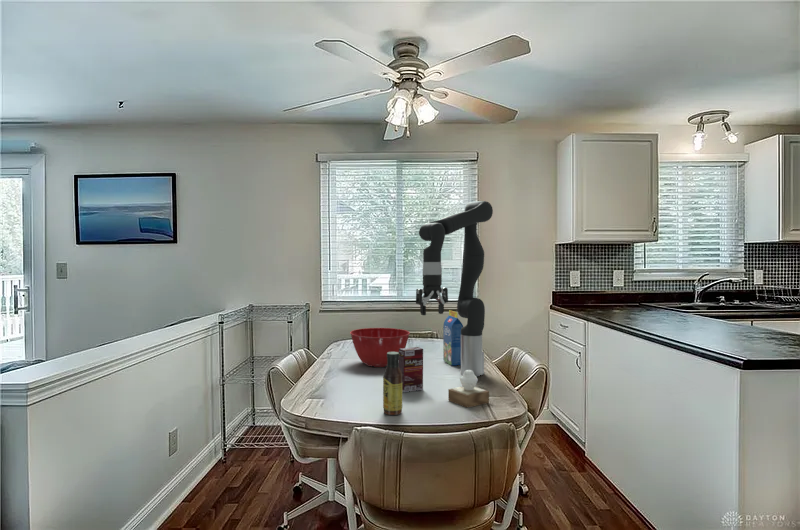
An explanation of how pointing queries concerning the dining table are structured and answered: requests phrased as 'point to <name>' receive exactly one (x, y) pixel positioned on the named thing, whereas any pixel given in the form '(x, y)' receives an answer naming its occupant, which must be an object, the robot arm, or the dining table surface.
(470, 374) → the white fluted ornament
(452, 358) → the blue food package
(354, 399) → the dining table surface
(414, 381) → the supplement box
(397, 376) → the sauce bottle
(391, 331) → the mixing bowl
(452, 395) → the base
